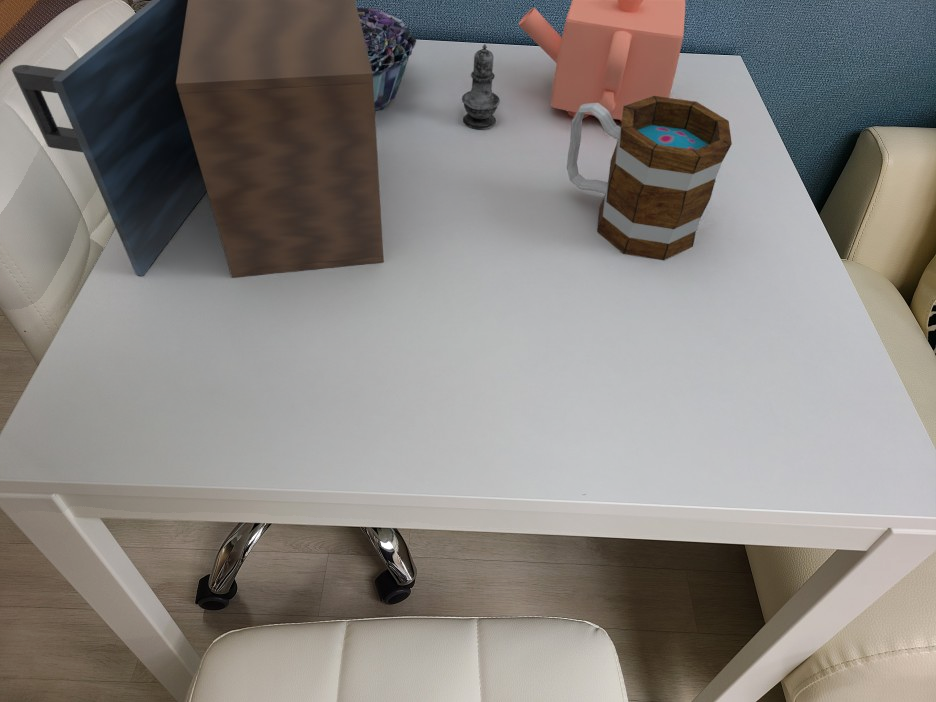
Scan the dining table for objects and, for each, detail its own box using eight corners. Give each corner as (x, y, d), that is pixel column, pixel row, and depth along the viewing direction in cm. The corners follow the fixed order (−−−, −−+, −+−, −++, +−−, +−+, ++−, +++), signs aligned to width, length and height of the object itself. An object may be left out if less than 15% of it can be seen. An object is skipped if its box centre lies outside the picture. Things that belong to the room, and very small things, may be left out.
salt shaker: (453, 120, 105) (455, 43, 96) (478, 107, 108) (483, 31, 99) (480, 135, 103) (486, 57, 94) (505, 121, 106) (513, 45, 97)
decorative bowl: (419, 140, 104) (424, 79, 97) (233, 133, 99) (223, 68, 92) (406, 63, 121) (409, 5, 113) (246, 53, 116) (239, -8, 108)
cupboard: (231, 277, 79) (175, 83, 61) (235, 155, 96) (191, -26, 78) (383, 262, 82) (372, 73, 64) (361, 146, 99) (347, -30, 81)
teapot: (498, 122, 106) (509, 3, 92) (524, 59, 120) (536, -52, 107) (658, 149, 103) (693, 30, 89) (664, 81, 117) (695, -30, 104)
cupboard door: (89, 267, 79) (-8, 72, 61) (188, 148, 96) (134, -31, 78) (143, 275, 79) (61, 81, 61) (232, 155, 96) (189, -24, 78)
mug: (710, 220, 91) (750, 119, 80) (673, 274, 84) (711, 171, 72) (581, 170, 98) (602, 70, 87) (536, 216, 90) (552, 112, 79)
